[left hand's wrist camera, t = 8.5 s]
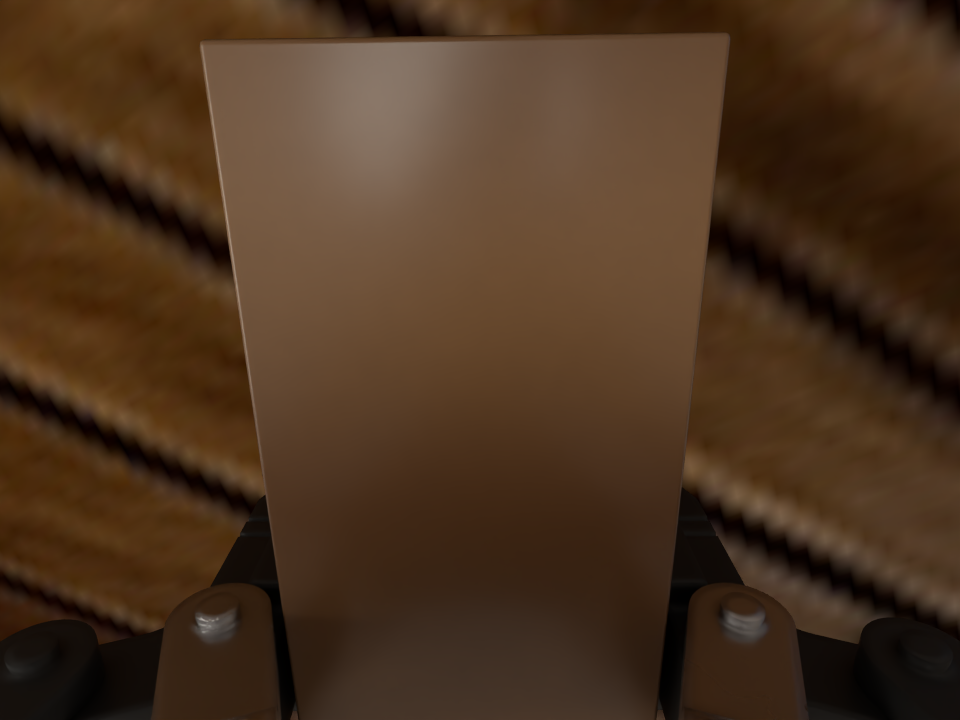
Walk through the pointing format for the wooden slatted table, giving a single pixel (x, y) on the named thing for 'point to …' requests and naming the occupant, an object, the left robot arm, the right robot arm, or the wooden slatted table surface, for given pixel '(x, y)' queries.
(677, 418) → the post
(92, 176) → the wooden slatted table surface
